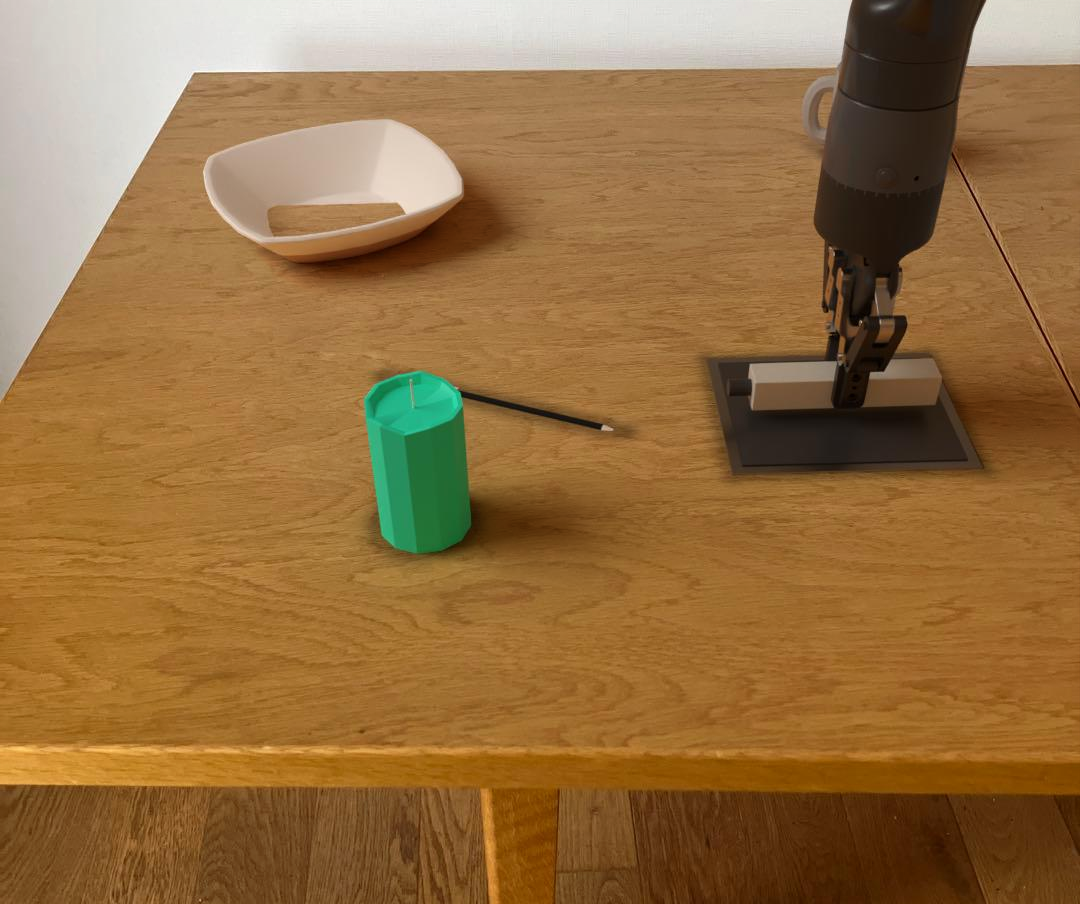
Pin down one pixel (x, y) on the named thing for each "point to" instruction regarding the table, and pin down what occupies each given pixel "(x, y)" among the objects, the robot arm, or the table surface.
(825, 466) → the tablet
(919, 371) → the stylus
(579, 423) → the black pencil
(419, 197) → the bowl
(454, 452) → the candle
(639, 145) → the table surface
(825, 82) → the cup
